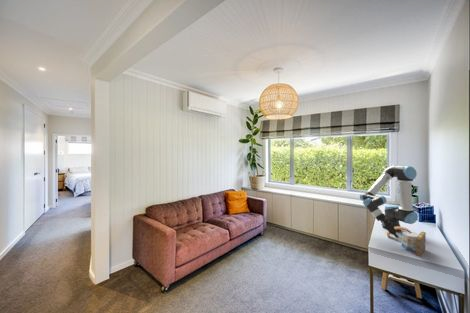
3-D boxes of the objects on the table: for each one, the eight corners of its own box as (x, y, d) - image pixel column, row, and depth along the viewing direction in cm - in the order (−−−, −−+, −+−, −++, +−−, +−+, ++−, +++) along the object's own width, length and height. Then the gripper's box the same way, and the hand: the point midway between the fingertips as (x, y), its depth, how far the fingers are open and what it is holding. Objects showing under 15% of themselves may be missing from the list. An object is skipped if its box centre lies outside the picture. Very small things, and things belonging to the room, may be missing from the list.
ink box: (406, 250, 161) (406, 235, 161) (401, 245, 169) (401, 231, 169) (419, 251, 159) (420, 236, 158) (413, 247, 167) (414, 232, 166)
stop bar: (421, 248, 164) (422, 231, 164) (425, 249, 162) (425, 232, 162) (416, 255, 153) (416, 237, 153) (419, 256, 151) (420, 237, 151)
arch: (416, 242, 176) (416, 230, 176) (387, 237, 186) (387, 226, 186) (414, 239, 181) (414, 228, 181) (386, 235, 191) (387, 224, 191)
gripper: (377, 215, 185) (399, 241, 173) (372, 218, 177) (394, 244, 165) (385, 211, 181) (408, 237, 168) (379, 214, 173) (403, 240, 160)
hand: (401, 240), depth 166 cm, fingers closed
